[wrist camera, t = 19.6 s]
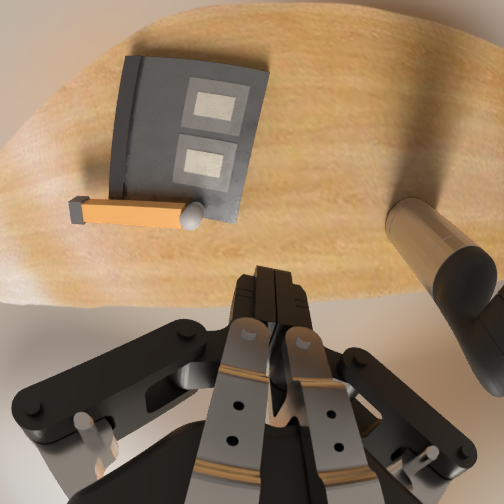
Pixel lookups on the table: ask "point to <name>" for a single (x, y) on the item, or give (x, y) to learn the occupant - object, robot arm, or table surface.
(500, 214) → the table surface
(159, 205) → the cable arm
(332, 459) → the robot arm
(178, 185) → the plate
